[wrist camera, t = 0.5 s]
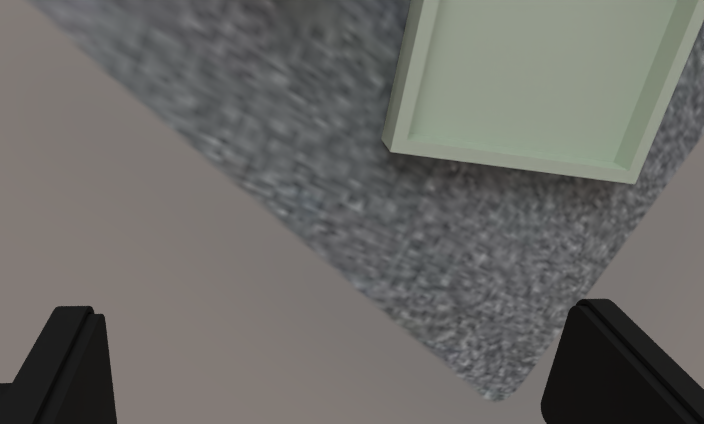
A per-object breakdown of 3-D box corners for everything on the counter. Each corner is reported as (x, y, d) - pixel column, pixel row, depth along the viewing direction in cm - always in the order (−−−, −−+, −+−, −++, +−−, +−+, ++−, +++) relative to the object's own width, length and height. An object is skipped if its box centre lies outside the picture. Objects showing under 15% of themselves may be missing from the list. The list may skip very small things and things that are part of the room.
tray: (440, -139, 34) (456, -148, 31) (707, -69, 38) (741, -71, 35) (381, 139, 41) (390, 151, 38) (612, 170, 45) (635, 184, 42)
